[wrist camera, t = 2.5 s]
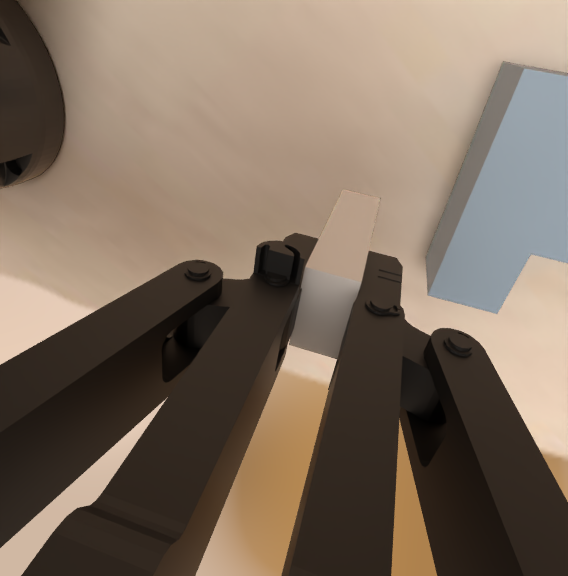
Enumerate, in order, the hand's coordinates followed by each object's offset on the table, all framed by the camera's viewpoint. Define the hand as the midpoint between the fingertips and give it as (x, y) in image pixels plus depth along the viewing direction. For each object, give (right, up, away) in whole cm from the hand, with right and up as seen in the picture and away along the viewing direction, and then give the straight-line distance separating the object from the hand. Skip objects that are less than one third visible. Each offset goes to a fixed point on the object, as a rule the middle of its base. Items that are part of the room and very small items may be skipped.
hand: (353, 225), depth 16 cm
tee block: (+14, +3, +7) cm, 16 cm away
